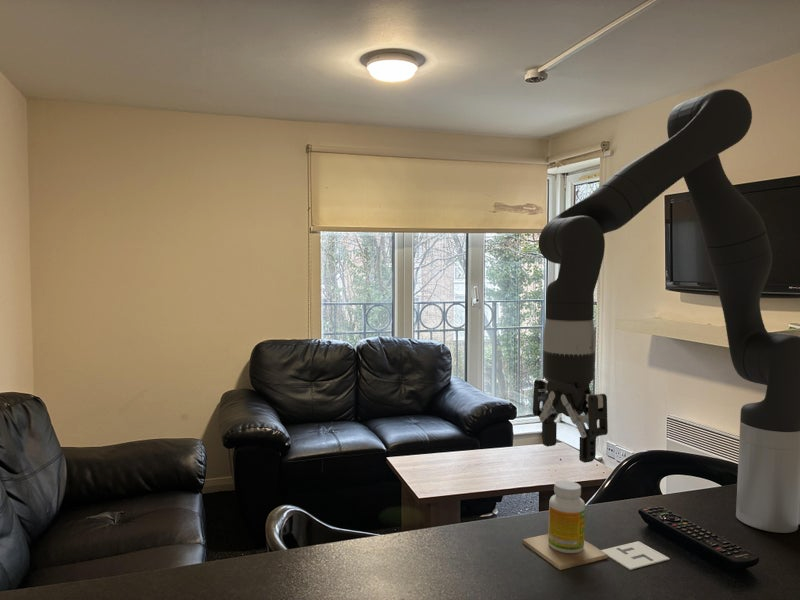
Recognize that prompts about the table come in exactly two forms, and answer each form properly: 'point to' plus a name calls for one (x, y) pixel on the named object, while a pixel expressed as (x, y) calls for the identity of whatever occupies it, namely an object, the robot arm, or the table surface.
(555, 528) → the supplement bottle
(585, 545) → the oak coaster
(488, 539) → the table surface
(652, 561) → the tile
